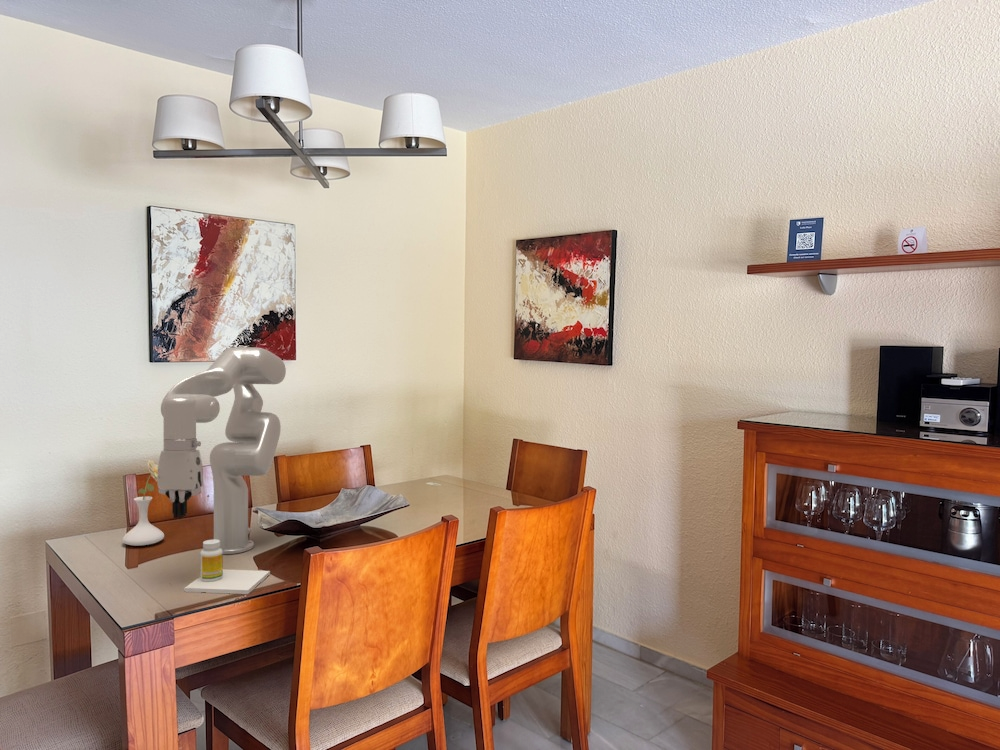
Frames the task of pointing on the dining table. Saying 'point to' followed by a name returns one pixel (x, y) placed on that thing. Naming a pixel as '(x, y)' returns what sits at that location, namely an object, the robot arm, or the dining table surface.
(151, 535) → the flower in vase
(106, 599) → the dining table surface
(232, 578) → the mat
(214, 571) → the supplement bottle
